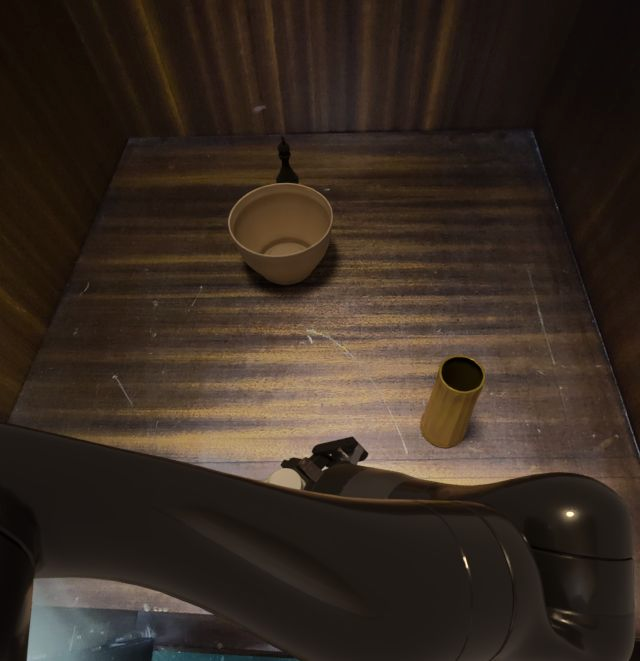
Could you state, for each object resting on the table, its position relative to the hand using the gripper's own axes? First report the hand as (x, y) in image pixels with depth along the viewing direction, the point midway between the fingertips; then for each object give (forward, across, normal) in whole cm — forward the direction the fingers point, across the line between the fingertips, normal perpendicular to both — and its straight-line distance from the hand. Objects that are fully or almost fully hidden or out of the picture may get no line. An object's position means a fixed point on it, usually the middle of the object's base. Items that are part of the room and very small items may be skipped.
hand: (273, 486), depth 57 cm
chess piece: (+32, -52, -19) cm, 64 cm away
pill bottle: (+2, 0, +4) cm, 5 cm away
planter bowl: (+23, -34, -10) cm, 42 cm away
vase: (-2, -21, +15) cm, 26 cm away
